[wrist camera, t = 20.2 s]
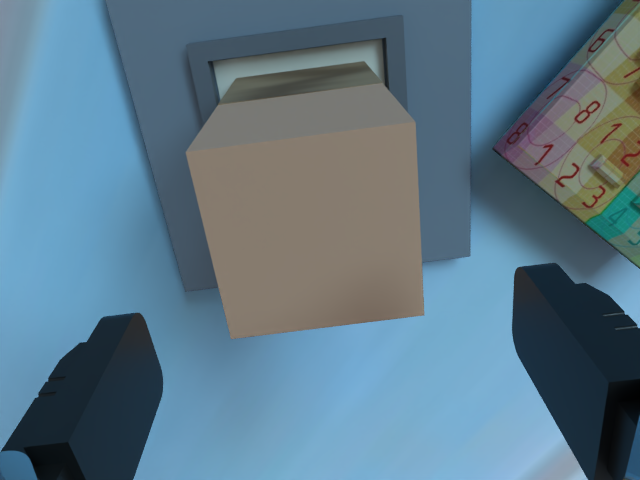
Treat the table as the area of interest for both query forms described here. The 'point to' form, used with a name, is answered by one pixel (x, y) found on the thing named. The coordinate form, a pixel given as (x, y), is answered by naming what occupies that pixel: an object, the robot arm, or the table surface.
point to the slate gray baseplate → (295, 54)
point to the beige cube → (311, 209)
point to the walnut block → (300, 82)
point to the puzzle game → (590, 133)
